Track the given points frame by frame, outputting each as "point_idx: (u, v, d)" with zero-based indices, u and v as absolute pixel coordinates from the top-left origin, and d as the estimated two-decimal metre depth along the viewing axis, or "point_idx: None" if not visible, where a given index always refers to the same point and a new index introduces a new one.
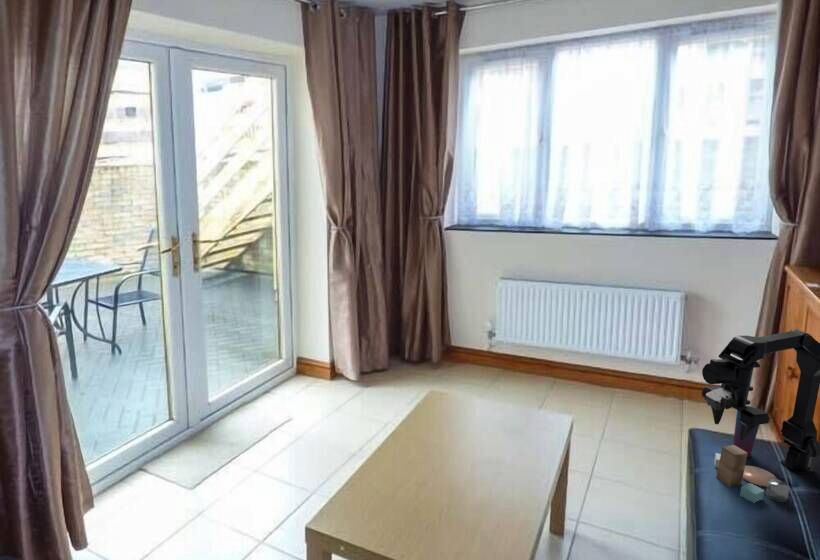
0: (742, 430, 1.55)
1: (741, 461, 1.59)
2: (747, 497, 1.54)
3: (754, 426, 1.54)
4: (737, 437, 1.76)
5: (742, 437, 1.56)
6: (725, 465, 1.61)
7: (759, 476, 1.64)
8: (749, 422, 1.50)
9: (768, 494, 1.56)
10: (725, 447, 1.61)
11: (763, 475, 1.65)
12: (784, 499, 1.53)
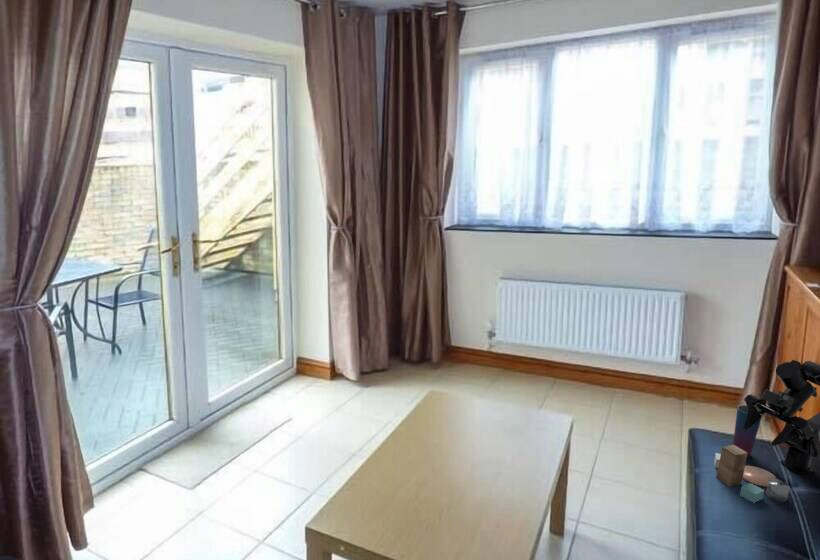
0: (781, 435, 1.57)
1: (741, 461, 1.59)
2: (747, 497, 1.54)
3: (791, 438, 1.57)
4: (737, 437, 1.76)
5: (775, 442, 1.57)
6: (725, 465, 1.61)
7: (759, 476, 1.64)
8: (800, 425, 1.53)
9: (768, 494, 1.56)
10: (725, 447, 1.61)
11: (763, 475, 1.65)
12: (784, 499, 1.53)
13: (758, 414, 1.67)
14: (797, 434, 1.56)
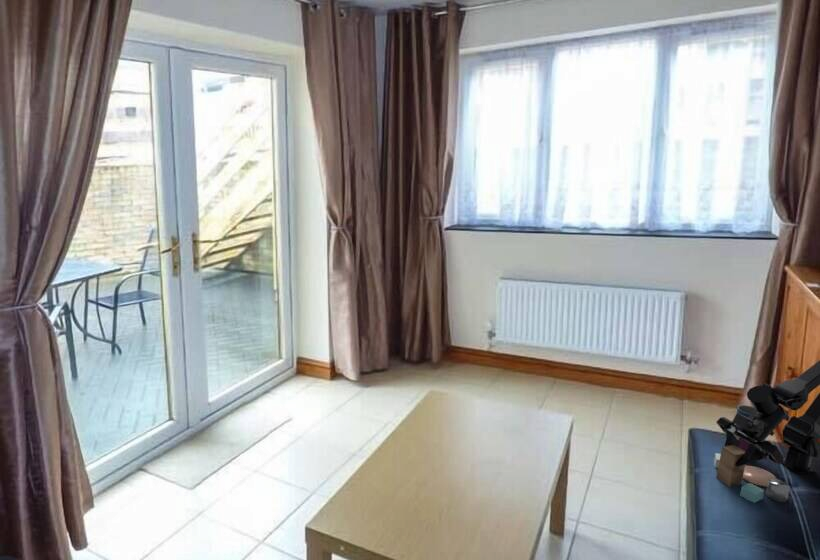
0: (744, 455, 1.57)
1: None
2: (747, 497, 1.54)
3: (755, 459, 1.58)
4: None
5: (739, 463, 1.58)
6: (725, 465, 1.61)
7: (759, 476, 1.64)
8: (769, 451, 1.52)
9: (768, 494, 1.55)
10: (725, 447, 1.61)
11: (763, 475, 1.65)
12: (784, 499, 1.53)
13: (736, 441, 1.64)
14: (760, 455, 1.56)
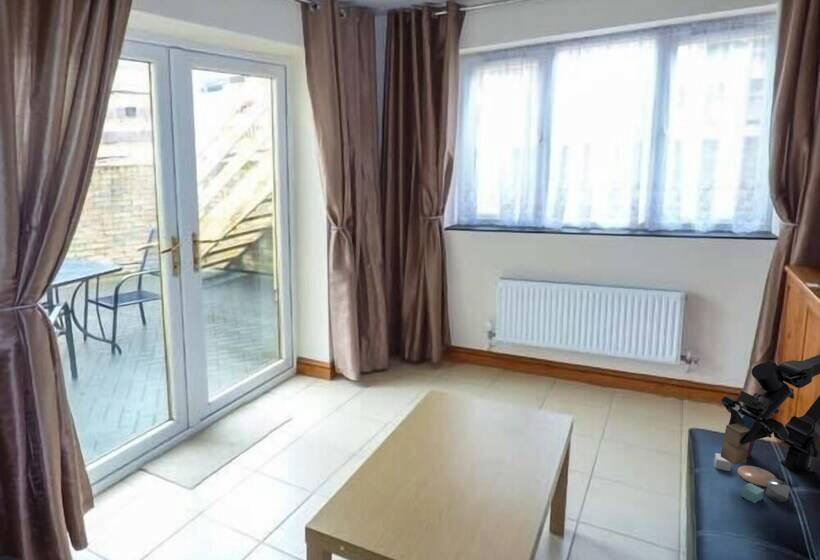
0: (749, 433, 1.56)
1: None
2: (747, 497, 1.54)
3: (759, 437, 1.56)
4: None
5: (744, 440, 1.56)
6: (729, 444, 1.59)
7: (759, 476, 1.64)
8: (775, 427, 1.50)
9: (769, 494, 1.55)
10: (729, 425, 1.60)
11: (763, 475, 1.65)
12: (785, 499, 1.54)
13: (741, 419, 1.62)
14: (765, 432, 1.55)
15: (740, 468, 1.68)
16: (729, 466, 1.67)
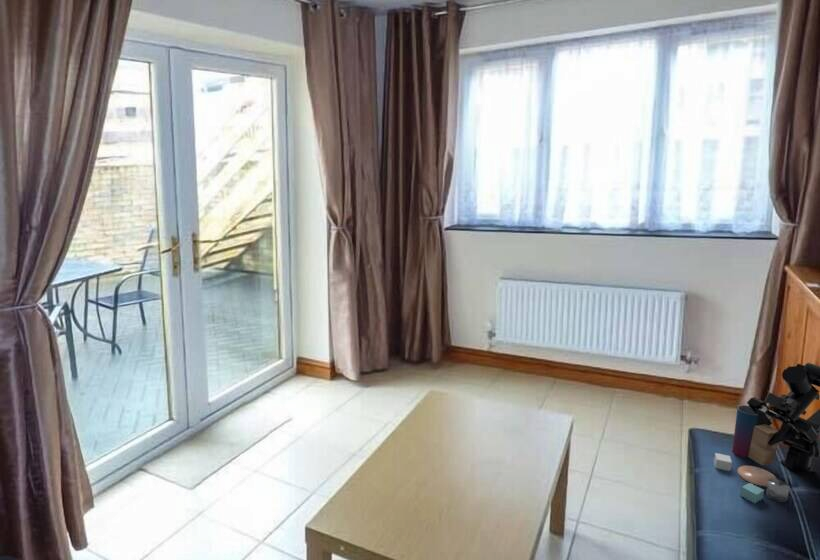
0: (777, 434, 1.58)
1: None
2: (747, 497, 1.54)
3: (787, 438, 1.59)
4: (737, 437, 1.76)
5: (772, 441, 1.59)
6: (757, 445, 1.62)
7: (759, 476, 1.64)
8: (803, 429, 1.53)
9: (769, 495, 1.55)
10: (757, 426, 1.62)
11: (763, 475, 1.65)
12: (785, 499, 1.54)
13: (768, 421, 1.65)
14: (793, 433, 1.57)
15: (740, 468, 1.68)
16: (729, 466, 1.67)
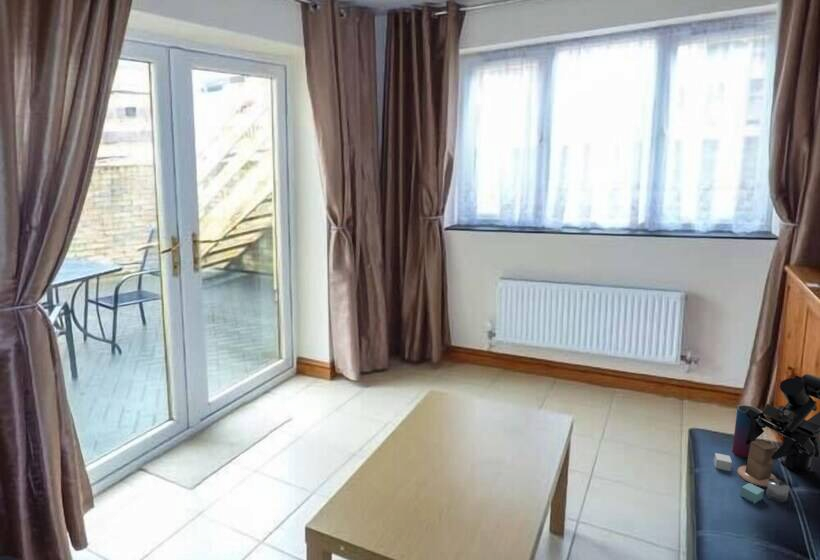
0: (781, 449, 1.58)
1: (770, 455, 1.61)
2: (747, 497, 1.54)
3: (791, 452, 1.58)
4: (737, 437, 1.76)
5: (775, 456, 1.58)
6: (754, 460, 1.63)
7: None
8: (801, 440, 1.54)
9: (769, 495, 1.55)
10: (754, 442, 1.64)
11: None
12: (785, 498, 1.54)
13: (760, 428, 1.68)
14: (797, 448, 1.57)
15: (740, 468, 1.68)
16: (729, 466, 1.67)
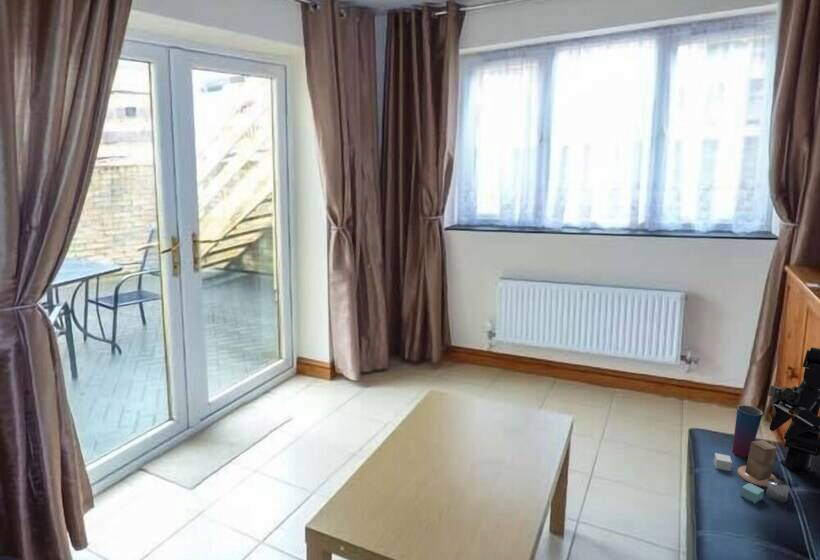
0: (789, 427, 1.57)
1: (770, 456, 1.61)
2: (748, 497, 1.54)
3: (803, 430, 1.56)
4: (737, 437, 1.76)
5: (787, 435, 1.58)
6: (754, 460, 1.63)
7: None
8: (798, 414, 1.54)
9: (770, 495, 1.55)
10: (754, 442, 1.64)
11: None
12: (786, 498, 1.54)
13: (786, 413, 1.67)
14: (805, 424, 1.55)
15: (740, 468, 1.68)
16: (729, 466, 1.67)
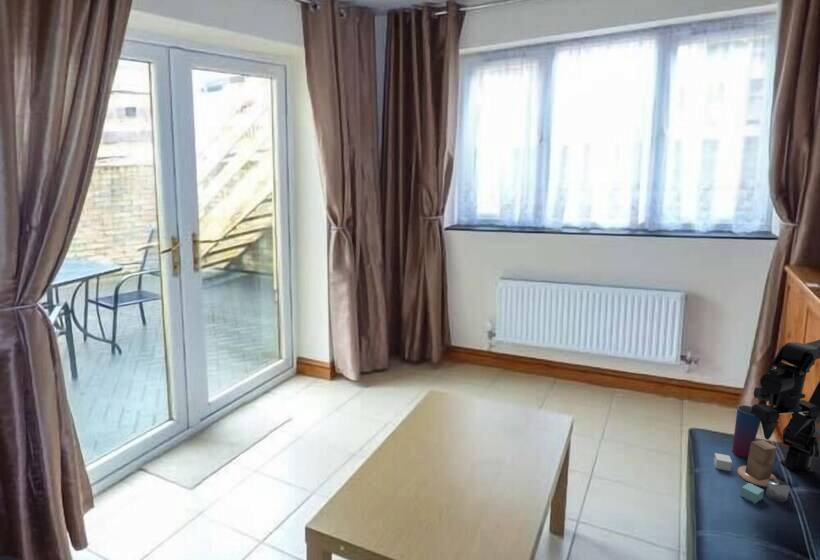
0: None
1: (770, 456, 1.61)
2: (748, 497, 1.54)
3: (770, 426, 1.58)
4: (737, 437, 1.76)
5: (764, 435, 1.61)
6: (754, 460, 1.63)
7: None
8: None
9: (770, 496, 1.55)
10: (754, 442, 1.64)
11: None
12: (786, 498, 1.54)
13: (801, 417, 1.61)
14: None
15: (740, 468, 1.68)
16: (729, 466, 1.68)
